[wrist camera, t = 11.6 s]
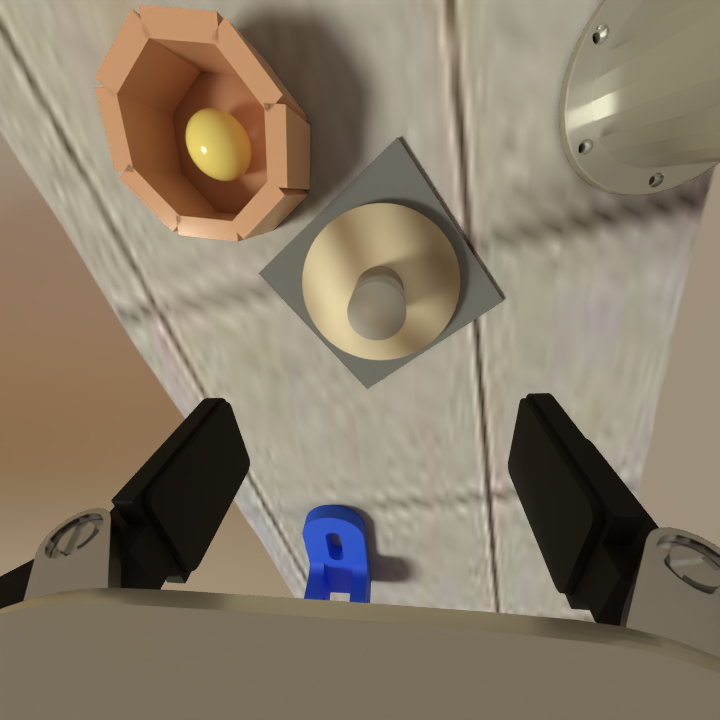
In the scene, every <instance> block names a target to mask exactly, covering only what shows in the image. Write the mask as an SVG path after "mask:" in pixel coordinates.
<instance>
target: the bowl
mask: <svg viewBox="0 0 720 720" xmlns="http://www.w3.org/2000/svg"><path fill="white" fill-rule="evenodd" d="M139 11H140V14H138V13H137V12H135V11H134V10H133V9H131V10H130V12H129V14H128V16H127V18H126V20H125V22H124V23H123V25H122V27H121V29H120V31H119V33H118V35H117V37H116V39H115V40H114V42H113V44H112V46H111V48H110V50H109V52H108V54H107V55H106V57H105V59H104V61H103V63H102V65H101V67H100V69H99V70H98V72H97V74H96V76H95V78H96V79H97V80H98V81H99V82H100V83H101V84H102V85H103V86H104V87H95V86H94V87H95V91H96V95H97V99H98V103H99V107H100V111H101V115H102V119H103V123H104V127H105V131H106V136H107V140H108V144H109V148H110V152H111V156H112V160H113V164H114V168H115V170H116V171H124V172H123V173H122V175H121V177H120V179H121V180H122V181H123V182H124V183H125V184H126V185H127V186H128V187H129V188H130V189H131V190H132V191H133V192H134V193H135V194H136V195H137V196H138V197H139V198H140V199H141V200H142V201H143V202H144V203H145V204H146V205H147V206H148V207H149V208H150V209H151V210H152V212H153V213H154V214H155V215H156V216H157V217H158V218H159V219H160V220H161V221H162V222H163V223H164V224H165V225H166V226H167V227H168V228H169V229H170V230H171V231H172V232H174V231H178V232H179V235H184V236H193V237H202V238H211V239H221V240H230V241H241V240H244V239H247V238H250V237H254V236H257V235H260V234H263V233H267V232H269V231H273V230H274V229H275V228H276V227H277V226H278V225H279V224H280V223H281V222H282V221H283V220H284V219H285V218H286V217H287V216H288V215H289V214H290V213H291V212H292V211H293V210H294V209H295V208H296V207H297V206H298V205H299V204H300V203H301V202H302V201H303V199H304V198H305V197H306V196H307V194H306V192H305V191H304V190H303V189H310V128H311V126H310V125H309V124H308V123H307V122H306V121H307V120H308V117H307V116H306V115H305V113H304V112H303V111H302V109H301V108H300V106H299V105H298V104H297V102H296V101H295V100H294V98H293V97H292V95H291V94H290V93H289V91H288V90H287V89H286V87H285V86H284V84H283V83H282V82H281V80H280V79H279V78H278V76H277V75H276V74H275V72H274V71H273V69H272V68H271V67H270V65H269V64H268V63H267V61H266V60H265V59H264V58H263V57H262V56H261V55H260V54H259V53H258V52H257V51H256V49H255V48H254V47H253V46H252V45H251V44H250V43H249V42H248V41H247V40H246V39H245V38H244V37H243V35H242V34H241V33H240V32H239V31H238V30H237V29H236V28H235V27H234V26H233V25H232V24H231V23H230V21H229V20H228V19H227V18H226V17H224V19H223V18H222V17H221V15H220V14H219V13H218V12H217V11H206V10H195V9H183V8H171V7H159V6H148V5H139Z"/></svg>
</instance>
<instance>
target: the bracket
mask: <svg viewBox="0 0 720 720" xmlns="http://www.w3.org/2000/svg"><path fill="white" fill-rule="evenodd" d="M330 533H335V534H338V535H339V536H340V537H341V543H342V547H337V546H334V545H333V544H332V542H331V537H330ZM303 538H304V542H305V546H306V550H307V554H308V557H309V561H310V571H309V577H308V582H307V587H306V591H305V596H304V599H314V600H330V593H331V592H338V593H350V602H358V603H370V592H371V576H370V567H369V558H368V549H367V541H366V532H365V524H364V521H363V519H362V518H361V517H360V516H359V515H358V514H357V513H356V512H354V511H353V510H351V509H349V508H346V507H343V506H338V505H323V506H319V507H316V508H314V509H313V510H311V511H310V512H309V513H308V515H307V517H306V521H305V525H304V529H303Z"/></svg>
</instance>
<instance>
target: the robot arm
mask: <svg viewBox="0 0 720 720" xmlns="http://www.w3.org/2000/svg"><path fill="white" fill-rule="evenodd" d="M592 36H595V38H596V42H595V43H594V42H593V39H592ZM559 130H560V136H561V142H562V146H563V149H564V151H565V154H566V156H567V159H568V161H569V163H570V164H571V166H572V167H573V168H574V170H575V171H576V173H577V174H578V175H579V176H580V177H581V178H583V179H584V180H585V181H586V182H587V183H589V184H590V185H592V186H594V187H596V188H598V189H600V190H603V191H605V192H610V193H616V194H621V195H641V194H650V193H656V192H660V191H663V190H667V189H670V188H673V187H676V186H679V185H681V184H683V183H685V182H687V181H690V180H692V179H694V178H696V177H698V176H700V175H701V174H703V173H704V172H706V171H707V170H709V169H711V168H712V167H714V166H715V165H717V164H718V163H720V0H603V1H602V2H601V3H600V5H599V6H598V8H597V9H596V11H595V12H594V14H593V16H592V17H591V19H590V20H589V22H588V23H587V25H586V26H585V28H584V30H583V32H582V34H581V36H580V38H579V40H578V42H577V44H576V46H575V49H574V51H573V53H572V55H571V58H570V61H569V64H568V67H567V70H566V73H565V76H564V79H563V84H562V90H561V96H560V101H559ZM579 145H581V146H582V150H581V151H580V152H579V150H578V148H579ZM649 180H650V181H649ZM249 467H250V459H249V456H248V453H247V450H246V448H245V445H244V442H243V439H242V436H241V433H240V430H239V427H238V424H237V422H236V419H235V416H234V413H233V410H232V407H231V405H230V403H228V402H226V400H225V399H223V398H206V399H204V400H203V401H202V402H201V403H200V404H199V405H198V406H197V407H196V408H195V409H194V410H193V411H192V413H191V414H190V415H189V416H188V417H187V418H186V419H185V420H184V421H183V423H181V425H180V426H179V427H178V428H177V429H176V430H175V431H174V432H173V433H172V434H171V436H170V437H169V438H168V439H167V440H166V441H165V442H164V443H163V444H162V445H161V447H160V448H159V449H158V450H157V451H156V452H155V453H154V454H153V455H152V456H151V457H150V459H149V460H148V461H147V462H146V463H145V464H144V465H143V466H142V467H141V468H140V470H139V471H138V472H137V473H136V474H135V475H134V476H133V477H132V478H131V479H130V480H129V481H128V483H127V484H126V485H125V486H124V487H123V488H122V489H121V490H120V491H119V492H118V494H117V495H116V496H115V497H114V498H113V499H112V503H113V504H114V505H115V507H114V508H113V509H112V510H111V511H110V512H109V511H108V510H106V509H104V508H94V509H89V510H86V511H83V512H80V513H78V514H76V515H74V516H72V517H70V518H68V519H67V520H65V521H64V522H63V523H61V524H60V525H58V526H57V527H56V528H55V529H54V530H52V531H51V532H50V533H49V534H48V535H47V536H46V538H45V539H44V540H43V541H42V543H41V544H40V546H39V548H38V550H37V552H36V555H35V559H33V560H31V561H29V562H27V563H25V564H23V565H21V566H20V567H18V568H16V569H14V570H12V571H10V572H8V573H6V574H4V575H3V576H1V577H0V720H720V548H719V547H718V546H716V545H715V544H713V543H711V542H709V541H707V540H705V539H704V538H702V537H700V536H698V535H695V534H692V533H690V532H687V531H684V530H680V529H675V528H670V527H669V528H659V527H658V526H657V525H656V523H655V522H654V521H653V520H652V518H651V517H650V516H649V514H648V513H647V512H646V511H645V509H644V508H643V507H642V506H641V504H640V503H639V502H638V500H637V499H636V498H635V497H634V495H633V494H632V493H631V491H630V490H629V489H628V488H627V486H626V485H625V484H624V483H623V481H622V480H621V479H620V477H619V476H618V475H617V474H616V472H615V471H614V470H613V469H612V467H611V466H610V465H609V464H608V462H607V461H606V460H605V458H604V457H603V456H602V455H601V453H600V452H599V451H598V450H597V448H596V447H595V446H594V444H593V443H592V442H591V441H590V440H588V439H586V438H585V437H584V436H583V434H582V433H581V432H580V430H579V429H578V428H577V427H576V425H575V424H574V423H573V421H572V420H571V419H570V417H569V416H568V415H567V414H566V412H565V411H564V410H563V408H562V407H561V406H560V405H559V403H558V402H557V401H556V399H555V398H554V397H553V396H552V395H551V394H549V393H535V394H528V395H527V396H526V398H523V399H521V400H520V404H519V409H518V414H517V419H516V424H515V430H514V435H513V440H512V445H511V450H510V455H509V461H508V470H509V474H510V477H511V479H512V482H513V484H514V487H515V489H516V491H517V494H518V496H519V499H520V501H521V504H522V506H523V509H524V511H525V514H526V516H527V518H528V521H529V523H530V526H531V528H532V531H533V533H534V536H535V538H536V541H537V543H538V545H539V548H540V550H541V553H542V555H543V558H544V560H545V563H546V565H547V568H548V570H549V572H550V575H551V577H552V580H553V582H554V585H555V587H556V589H557V590H558V592H560V593H565V595H566V597H567V600H568V602H569V605H570V607H571V609H581V610H590V611H591V614H592V616H593V618H594V620H595V622H597V623H594V622H587V621H580V620H570V619H559V618H549V617H538V616H527V615H516V614H506V613H494V612H480V611H467V610H453V609H440V608H427V607H413V606H400V605H386V604H372V603H358V602H343V601H329V600H314V599H300V598H285V597H270V596H255V595H238V594H224V593H208V592H192V591H175V590H161V587H162V585H163V584H164V582H165V580H166V581H167V582H171V583H186V581H187V579H188V577H189V575H190V573H191V572H192V571H194V570H195V569H196V568H197V567H198V566H199V564H200V562H201V560H202V558H203V557H204V555H205V553H206V551H207V549H208V547H209V545H210V543H211V541H212V539H213V537H214V536H215V534H216V532H217V530H218V528H219V526H220V524H221V522H222V520H223V518H224V516H225V514H226V512H227V511H228V509H229V507H230V505H231V503H232V501H233V499H234V497H235V495H236V493H237V491H238V489H239V488H240V486H241V484H242V482H243V480H244V478H245V476H246V474H247V472H248V470H249Z"/></svg>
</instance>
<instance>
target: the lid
mask: <svg viewBox="0 0 720 720" xmlns="http://www.w3.org/2000/svg"><path fill="white" fill-rule="evenodd" d="M302 288H303V296H304V301H305V305H306V308H307V311H308V313H309V315H310V317H311V319H312V321H313V323H314V324H315V326H316V327H317V329H318V330H319V331H320V332H321V334H322V335H323V336H324V337H325V338H326V339H327V340H328V341H329V342H331V343H332V344H333V345H335V346H336V347H338V348H339V349H341V350H343V351H344V352H347V353H349V354H351V355H353V356H357V357H360V358H364V359H370V360H391V359H397V358H401V357H405V356H408V355H410V354H413V353H415V352H417V351H419V350H420V349H422V348H424V347H425V346H427V345H428V344H429V343H431V342H432V341H433V340H434V339H435V338H436V337H437V336H438V335H439V334H440V333H441V332H442V331H443V330H444V328H445V327H446V326H447V324H448V322H449V321H450V319H451V317H452V315H453V313H454V311H455V308H456V305H457V302H458V298H459V292H460V271H459V265H458V261H457V257H456V255H455V252H454V250H453V247H452V245H451V244H450V242H449V240H448V238H447V237H446V236H445V234H444V233H443V232H442V231H441V229H440V228H439V227H438V226H437V225H436V224H434V223H433V222H432V221H431V220H430V219H428V218H427V217H425V216H424V215H423V214H421V213H419V212H417V211H415V210H413V209H411V208H408V207H405V206H402V205H397V204H391V203H374V204H367V205H363V206H359V207H356V208H354V209H351V210H349V211H347V212H344V213H343V214H341V215H340V216H338V217H336V218H335V219H334V220H332V221H331V222H330V223H329V224H328V225H326V227H325V228H324V229H323V230H322V231H321V232H320V233H319V234H318V236H317V237H316V239H315V240H314V242H313V243H312V245H311V248H310V250H309V252H308V254H307V257H306V260H305V264H304V269H303V277H302Z"/></svg>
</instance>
